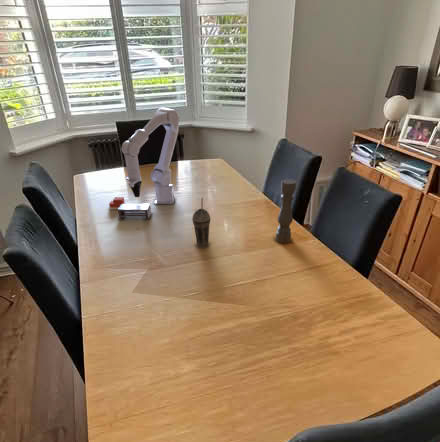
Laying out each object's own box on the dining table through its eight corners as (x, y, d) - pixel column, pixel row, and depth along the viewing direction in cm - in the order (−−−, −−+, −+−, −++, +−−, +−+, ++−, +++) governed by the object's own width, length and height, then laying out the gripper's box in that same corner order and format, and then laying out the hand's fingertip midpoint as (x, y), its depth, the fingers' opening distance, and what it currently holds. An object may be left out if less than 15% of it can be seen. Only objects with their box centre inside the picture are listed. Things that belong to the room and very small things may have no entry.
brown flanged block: (151, 213, 176) (150, 203, 173) (148, 219, 171) (147, 209, 168) (123, 213, 177) (121, 203, 174) (119, 219, 171) (117, 209, 168)
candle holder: (290, 243, 150) (296, 184, 135) (275, 242, 151) (280, 183, 136) (290, 236, 155) (297, 179, 140) (276, 235, 156) (281, 178, 141)
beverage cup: (190, 246, 148) (187, 200, 137) (199, 239, 154) (197, 194, 142) (205, 250, 146) (204, 203, 134) (214, 243, 151) (213, 197, 139)
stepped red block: (125, 206, 184) (124, 196, 181) (123, 209, 181) (122, 199, 178) (111, 206, 184) (109, 196, 181) (109, 209, 181) (107, 199, 178)
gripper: (128, 164, 175) (132, 191, 183) (120, 173, 163) (125, 202, 171) (142, 164, 174) (146, 191, 182) (136, 173, 163) (140, 202, 171)
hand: (137, 196), depth 177 cm, fingers closed
